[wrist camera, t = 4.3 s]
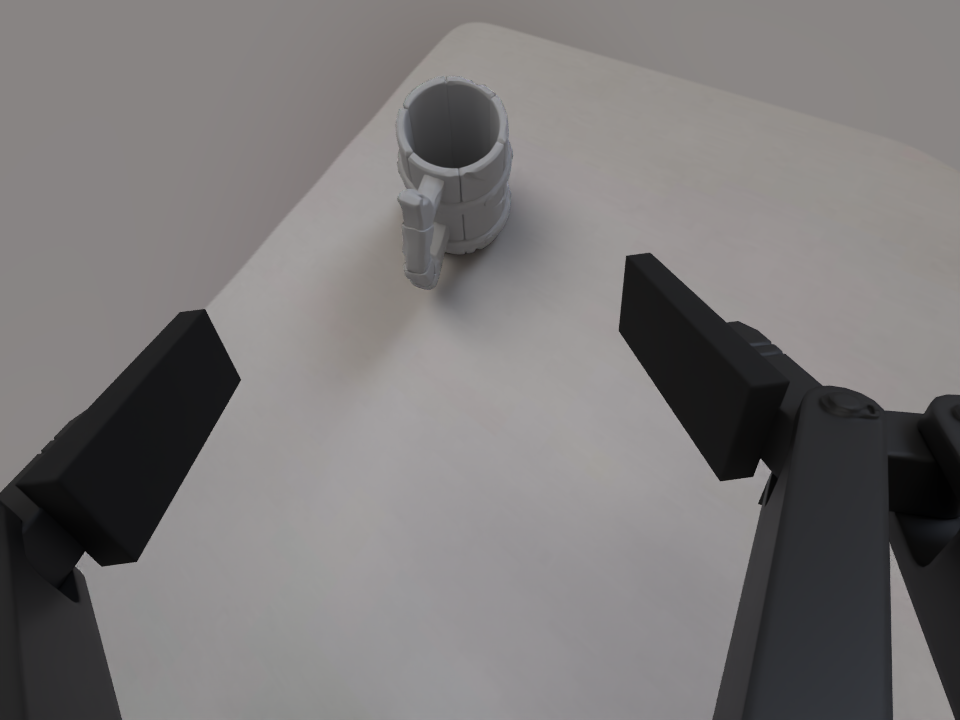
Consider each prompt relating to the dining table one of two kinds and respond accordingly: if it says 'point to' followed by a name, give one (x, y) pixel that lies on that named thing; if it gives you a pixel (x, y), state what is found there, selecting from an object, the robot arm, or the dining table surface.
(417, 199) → the mug
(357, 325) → the dining table surface
